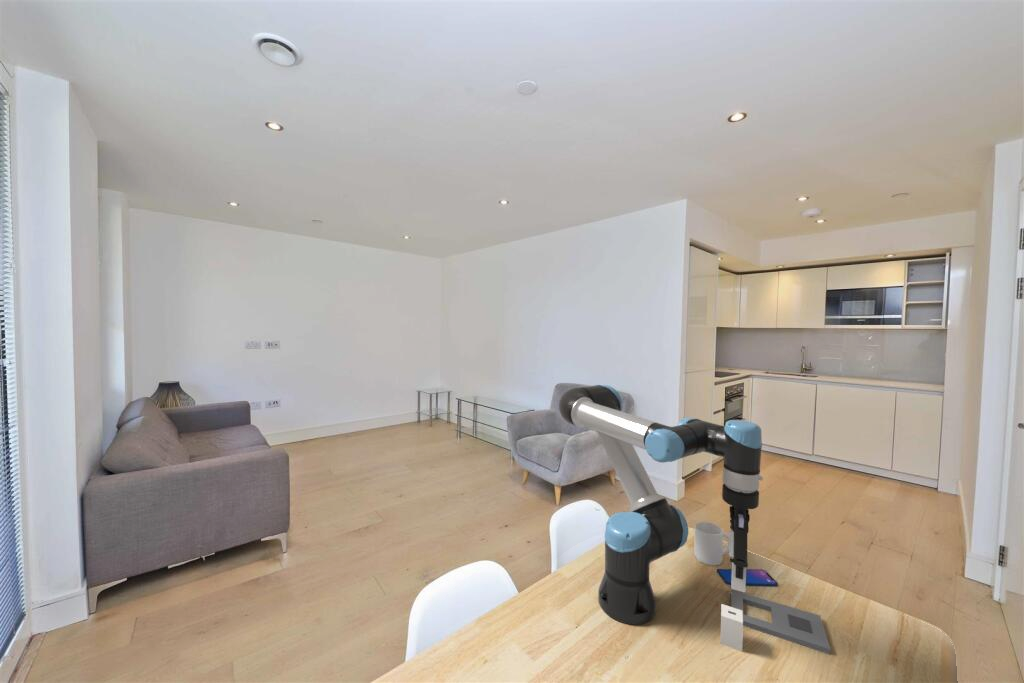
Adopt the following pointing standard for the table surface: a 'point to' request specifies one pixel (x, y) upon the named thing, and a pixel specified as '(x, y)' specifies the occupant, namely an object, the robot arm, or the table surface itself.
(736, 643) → the charger
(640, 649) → the table surface
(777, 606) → the outlet plate
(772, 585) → the smartphone
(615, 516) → the robot arm
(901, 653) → the table surface
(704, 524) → the mug
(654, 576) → the table surface
